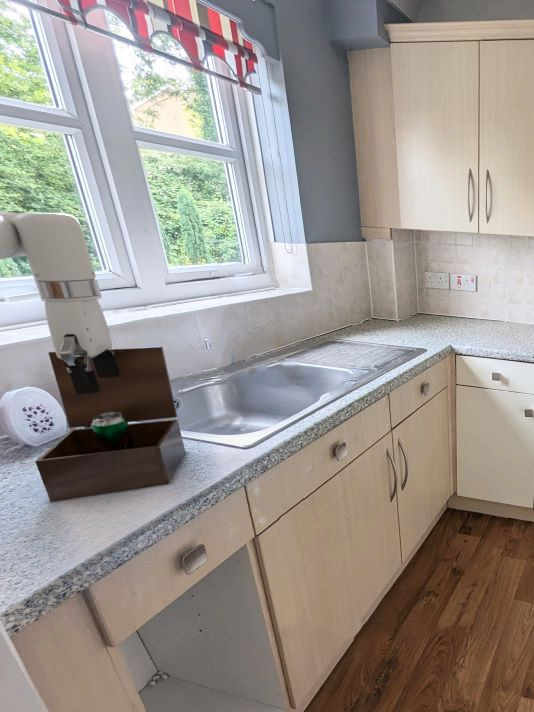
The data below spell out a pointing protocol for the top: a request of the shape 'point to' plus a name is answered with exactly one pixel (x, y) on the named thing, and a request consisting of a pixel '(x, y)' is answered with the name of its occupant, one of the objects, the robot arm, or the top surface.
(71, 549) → the top surface
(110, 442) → the soda can
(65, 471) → the chest
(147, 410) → the lid
